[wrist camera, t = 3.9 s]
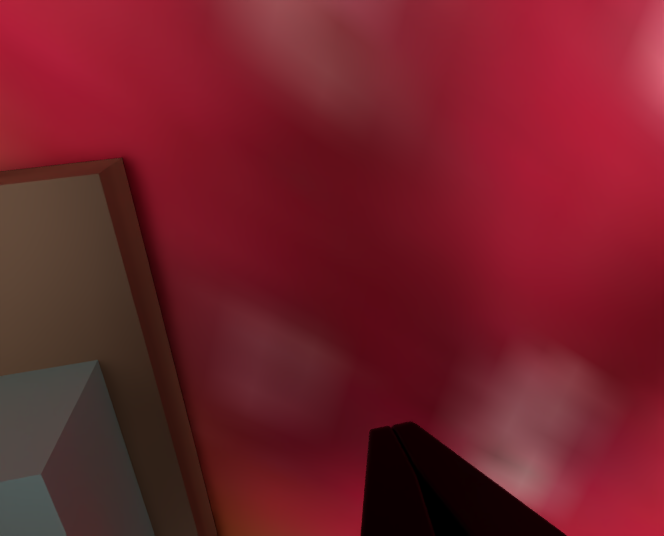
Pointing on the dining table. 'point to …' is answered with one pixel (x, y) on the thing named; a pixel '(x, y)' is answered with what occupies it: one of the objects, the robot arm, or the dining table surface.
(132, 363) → the board
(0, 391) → the sage green block
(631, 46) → the dining table surface
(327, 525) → the dining table surface
